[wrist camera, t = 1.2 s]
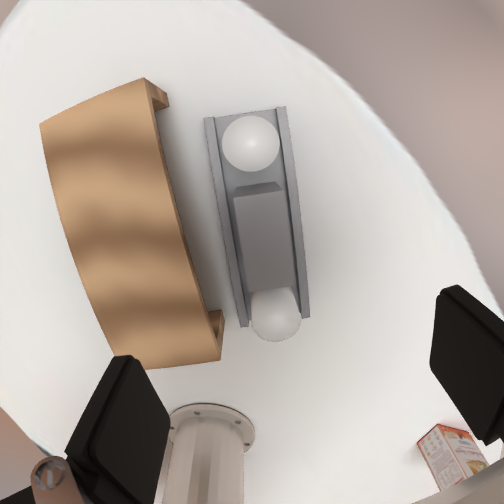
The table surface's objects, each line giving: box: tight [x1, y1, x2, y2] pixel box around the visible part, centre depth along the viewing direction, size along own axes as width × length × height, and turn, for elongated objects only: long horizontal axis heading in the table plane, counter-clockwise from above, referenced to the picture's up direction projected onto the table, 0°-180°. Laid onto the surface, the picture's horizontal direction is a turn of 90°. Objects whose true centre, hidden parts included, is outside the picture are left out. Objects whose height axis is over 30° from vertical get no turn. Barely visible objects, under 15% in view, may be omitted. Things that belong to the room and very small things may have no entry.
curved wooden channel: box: [39, 78, 225, 370], centre depth 26 cm, size 24×10×7 cm, turn 12°
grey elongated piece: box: [204, 106, 310, 342], centre depth 26 cm, size 20×7×8 cm, turn 9°
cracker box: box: [417, 424, 490, 492], centre depth 33 cm, size 14×6×21 cm, turn 59°
